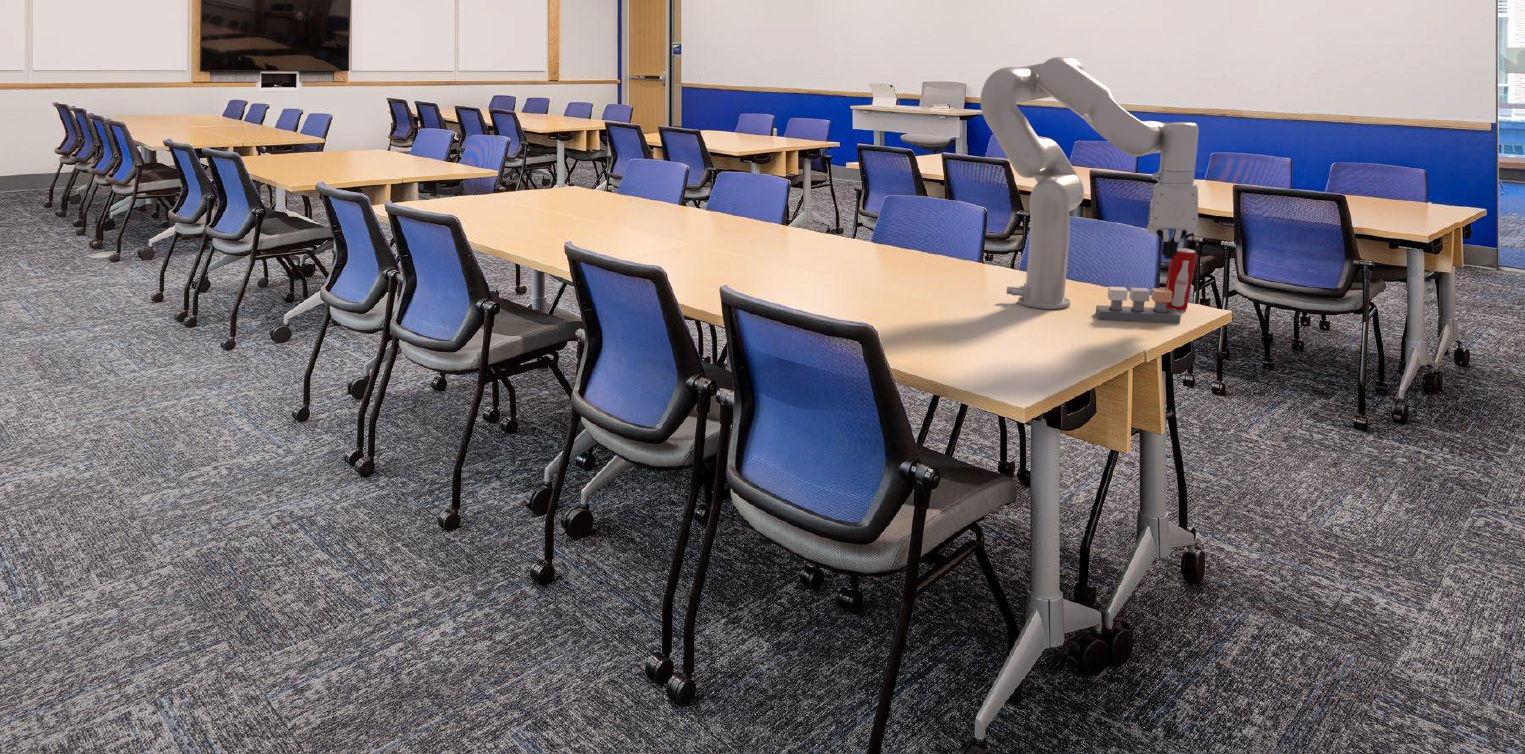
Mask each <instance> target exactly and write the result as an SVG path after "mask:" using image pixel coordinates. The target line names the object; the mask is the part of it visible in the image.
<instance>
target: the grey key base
mask: <svg viewBox="0 0 1525 754" xmlns="http://www.w3.org/2000/svg"><path fill="white" fill-rule="evenodd" d="M1110 307H1111V305H1099V304H1097V305H1096V306H1095V315H1096V316H1097V318H1098V320H1099V321H1111V322H1132V323H1133V322H1135V323H1137V322H1138V323H1158V324H1159V323H1160V324H1180V323H1181V314H1180V312H1177V310H1176V309H1175V308H1166V312H1156V311H1155V310H1154V307H1149V306H1148V307H1145V306H1144V311H1134V310H1133V309H1132V306H1127V305H1126V306H1125V305H1124V306H1123V305H1122V310H1112V309H1111V308H1110Z"/></svg>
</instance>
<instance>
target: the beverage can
mask: <svg viewBox="0 0 1525 754" xmlns="http://www.w3.org/2000/svg"><path fill="white" fill-rule="evenodd" d="M1196 262H1197V251H1196V250H1195V249H1191V248H1187V247H1186V248H1185V247H1177V254H1176V255H1174V259H1170V260H1169V265H1168V270H1167V276H1166V282H1165V288H1164V289H1170V290H1171V291H1172V300H1171V302H1167V306H1166V308H1175V309H1176V310H1177V312H1178V313H1180V312H1185V311H1187V309H1188V304H1189V300H1190V299H1189V298H1190V293H1191V288H1192V283H1193V278H1194V273H1195V268H1196Z"/></svg>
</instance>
